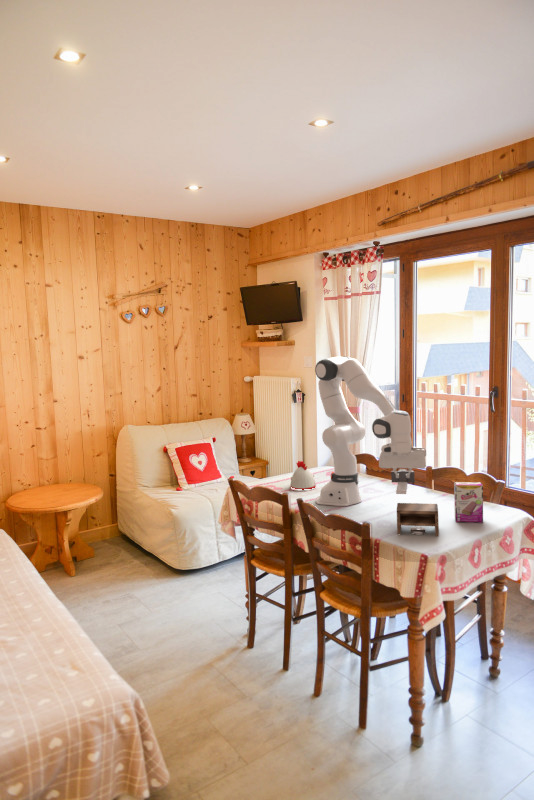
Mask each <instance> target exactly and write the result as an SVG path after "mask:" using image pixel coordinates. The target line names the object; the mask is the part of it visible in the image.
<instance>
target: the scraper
mask: <svg viewBox="0 0 534 800" xmlns="http://www.w3.org/2000/svg"><path fill="white" fill-rule="evenodd" d="M396 472H397V473H399V478H396V474H395V473H394V471H393V470H391V471H390V473H391V474H390V475H391V483H397V485H396V490H395V494H397V495H407V492H408V491H407V490H408V484H410V483H411V484H413V483H415V481H416V480H415V478H416V477H415V471H414V470H412V471H411V473H410V478H406V473H408V472H409V470H407V468H398V470H396Z"/></svg>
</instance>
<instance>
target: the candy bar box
mask: <svg viewBox="0 0 534 800" xmlns="http://www.w3.org/2000/svg"><path fill="white" fill-rule="evenodd" d="M453 486H454V487H453V488H454V490H453V491H454V493H453V494H454V519H455V522H456V523H480V524H481V523H483V522H484V485H483V483H482V482H480V481H479V482H477V481H475V482H472V481H471V482H467V481H465V482H463V481H462V482H460V481H459V482H458V481H456V482H454V483H453Z"/></svg>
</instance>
